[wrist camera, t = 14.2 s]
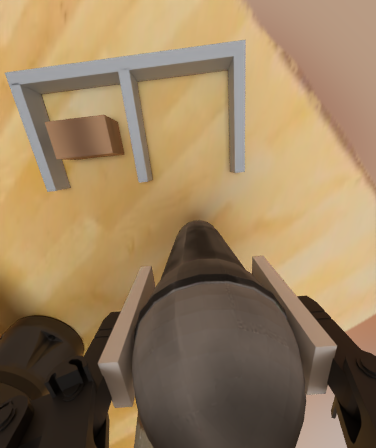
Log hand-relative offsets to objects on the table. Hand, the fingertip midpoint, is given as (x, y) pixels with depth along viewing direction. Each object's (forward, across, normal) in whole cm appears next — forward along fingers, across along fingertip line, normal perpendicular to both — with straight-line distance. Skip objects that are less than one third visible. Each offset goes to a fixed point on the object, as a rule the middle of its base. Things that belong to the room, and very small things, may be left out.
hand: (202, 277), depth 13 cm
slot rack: (+15, -6, +12) cm, 21 cm away
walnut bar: (+16, -12, +12) cm, 24 cm away
